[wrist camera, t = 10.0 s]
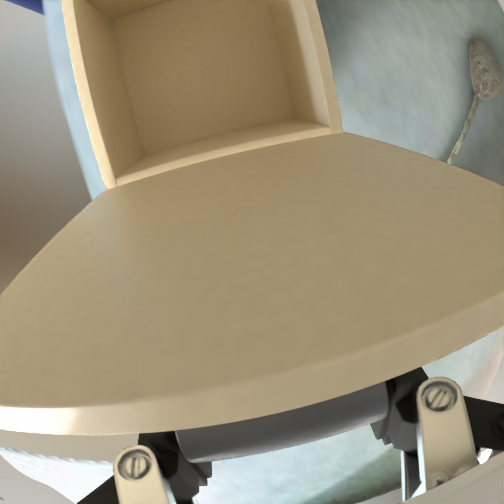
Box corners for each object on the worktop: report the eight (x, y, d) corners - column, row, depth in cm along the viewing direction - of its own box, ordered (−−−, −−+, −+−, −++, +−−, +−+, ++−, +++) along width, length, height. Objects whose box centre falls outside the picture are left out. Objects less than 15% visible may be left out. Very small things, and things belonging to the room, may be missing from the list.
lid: (-72, 396, 3) (52, 504, 6) (597, 236, 3) (534, 389, 6) (103, 190, 17) (130, 264, 19) (346, 131, 17) (355, 209, 19)
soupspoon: (497, 64, 25) (464, 29, 23) (515, 63, 22) (482, 26, 20) (437, 211, 32) (398, 184, 30) (454, 221, 29) (415, 192, 27)
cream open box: (105, 18, 20) (59, -13, 11) (267, -22, 20) (293, -71, 11) (141, 164, 26) (107, 194, 18) (301, 125, 26) (344, 137, 18)
